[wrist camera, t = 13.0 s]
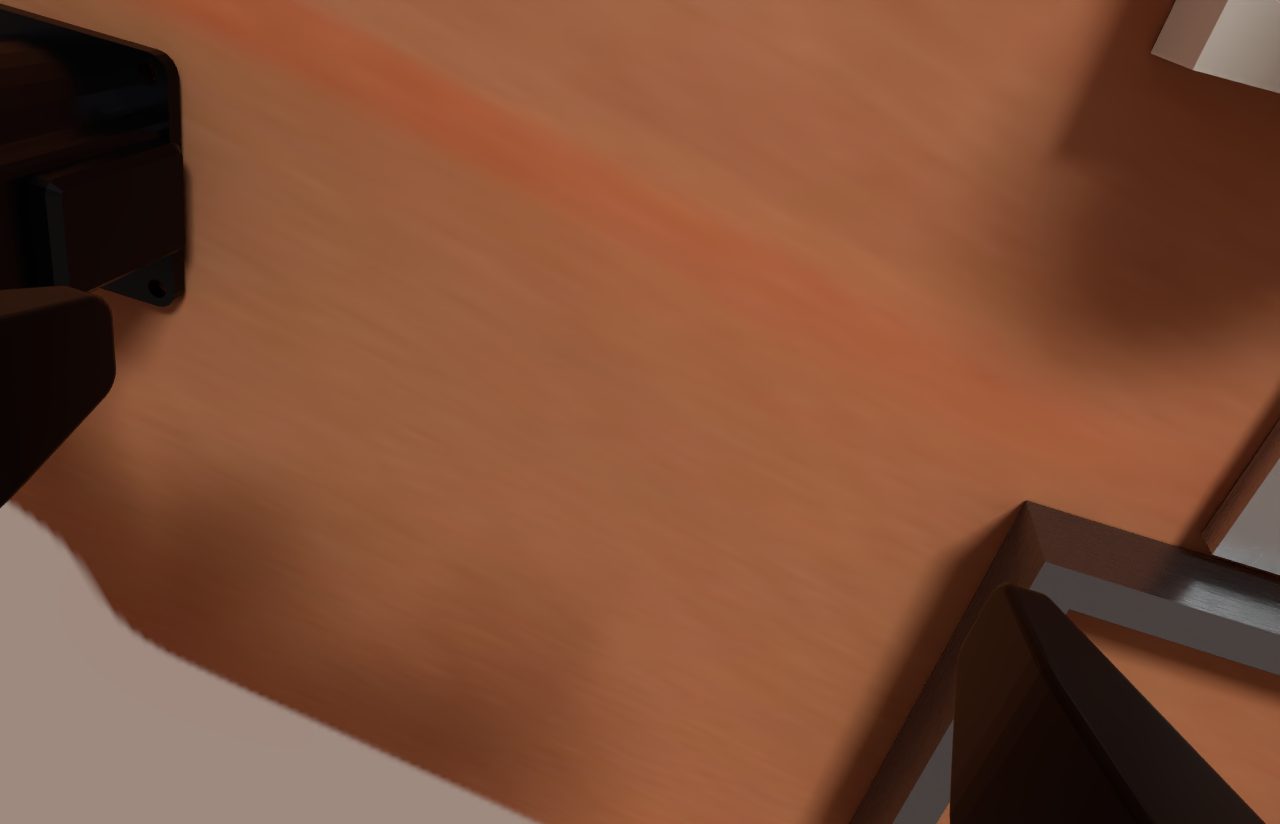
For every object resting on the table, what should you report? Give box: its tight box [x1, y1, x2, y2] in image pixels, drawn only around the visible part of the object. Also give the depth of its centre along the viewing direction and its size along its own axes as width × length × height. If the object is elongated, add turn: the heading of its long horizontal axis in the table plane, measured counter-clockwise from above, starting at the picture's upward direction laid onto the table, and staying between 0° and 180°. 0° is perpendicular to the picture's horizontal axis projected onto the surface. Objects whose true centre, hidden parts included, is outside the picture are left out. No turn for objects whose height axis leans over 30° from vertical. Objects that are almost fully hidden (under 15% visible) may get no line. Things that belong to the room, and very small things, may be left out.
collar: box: [850, 501, 1280, 824], centre depth 24 cm, size 13×13×2 cm
